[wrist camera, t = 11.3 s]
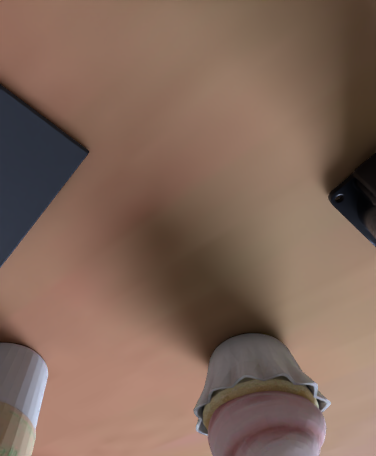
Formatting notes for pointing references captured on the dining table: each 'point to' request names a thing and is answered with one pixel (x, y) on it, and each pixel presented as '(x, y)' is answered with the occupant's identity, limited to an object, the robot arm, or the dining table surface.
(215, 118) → the dining table surface
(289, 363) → the cupcake
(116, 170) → the dining table surface
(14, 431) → the coffee cup
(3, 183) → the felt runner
